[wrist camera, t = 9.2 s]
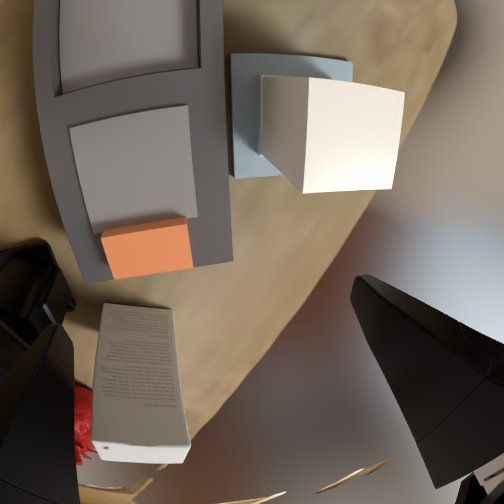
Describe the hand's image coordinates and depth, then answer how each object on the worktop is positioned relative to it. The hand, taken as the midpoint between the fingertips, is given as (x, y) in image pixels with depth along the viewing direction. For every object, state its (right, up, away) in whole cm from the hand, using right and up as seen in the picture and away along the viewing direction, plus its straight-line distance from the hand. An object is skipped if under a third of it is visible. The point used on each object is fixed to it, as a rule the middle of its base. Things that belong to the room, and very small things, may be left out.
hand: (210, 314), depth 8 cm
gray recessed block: (-5, +14, +4) cm, 15 cm away
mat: (+4, +10, +9) cm, 14 cm away
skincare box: (-9, -4, +15) cm, 18 cm away
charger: (+4, +10, +9) cm, 14 cm away
